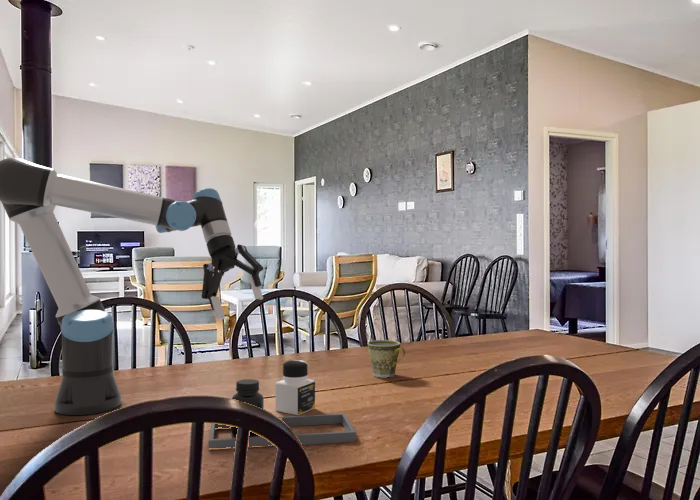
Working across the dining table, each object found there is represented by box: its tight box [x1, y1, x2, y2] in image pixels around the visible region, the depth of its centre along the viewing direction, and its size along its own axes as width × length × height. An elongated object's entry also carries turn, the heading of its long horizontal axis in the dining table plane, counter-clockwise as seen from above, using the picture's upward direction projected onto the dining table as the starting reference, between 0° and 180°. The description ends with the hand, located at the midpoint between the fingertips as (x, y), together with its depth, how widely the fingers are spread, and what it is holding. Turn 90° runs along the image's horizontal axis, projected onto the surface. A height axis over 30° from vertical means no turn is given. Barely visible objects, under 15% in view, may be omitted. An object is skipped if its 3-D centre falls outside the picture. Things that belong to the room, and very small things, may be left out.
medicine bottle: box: [274, 359, 316, 416], centre depth 147 cm, size 7×7×12 cm
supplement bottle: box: [230, 378, 264, 438], centre depth 127 cm, size 7×7×12 cm
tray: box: [207, 412, 357, 449], centre depth 128 cm, size 30×13×2 cm, turn 100°
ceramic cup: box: [367, 339, 406, 379], centre depth 181 cm, size 13×10×10 cm
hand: (239, 309), depth 162 cm, fingers open, 13 cm apart
